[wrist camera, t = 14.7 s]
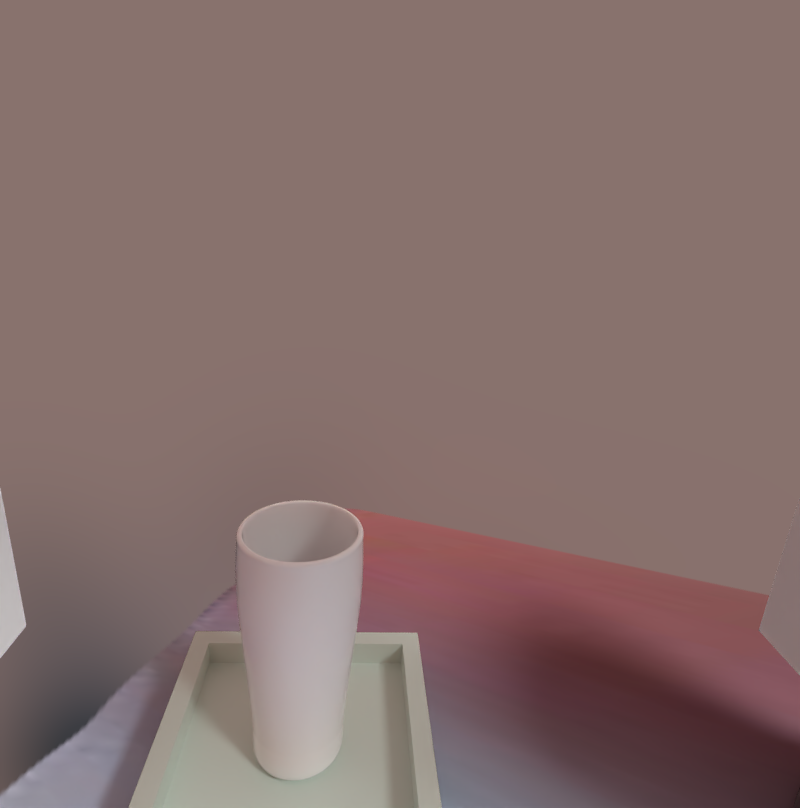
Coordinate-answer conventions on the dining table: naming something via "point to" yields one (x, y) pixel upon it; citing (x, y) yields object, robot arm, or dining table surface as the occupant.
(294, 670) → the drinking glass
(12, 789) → the dining table surface
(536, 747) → the dining table surface
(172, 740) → the tray
